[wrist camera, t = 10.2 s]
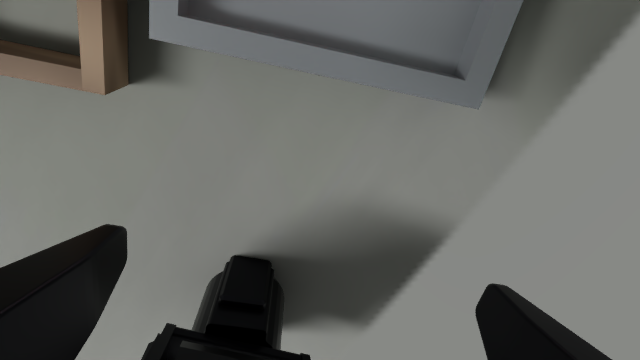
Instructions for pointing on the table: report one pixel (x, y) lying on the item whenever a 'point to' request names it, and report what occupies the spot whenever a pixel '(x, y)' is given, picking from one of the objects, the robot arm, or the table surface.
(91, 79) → the square frame
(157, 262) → the table surface
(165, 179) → the table surface
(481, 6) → the tray
